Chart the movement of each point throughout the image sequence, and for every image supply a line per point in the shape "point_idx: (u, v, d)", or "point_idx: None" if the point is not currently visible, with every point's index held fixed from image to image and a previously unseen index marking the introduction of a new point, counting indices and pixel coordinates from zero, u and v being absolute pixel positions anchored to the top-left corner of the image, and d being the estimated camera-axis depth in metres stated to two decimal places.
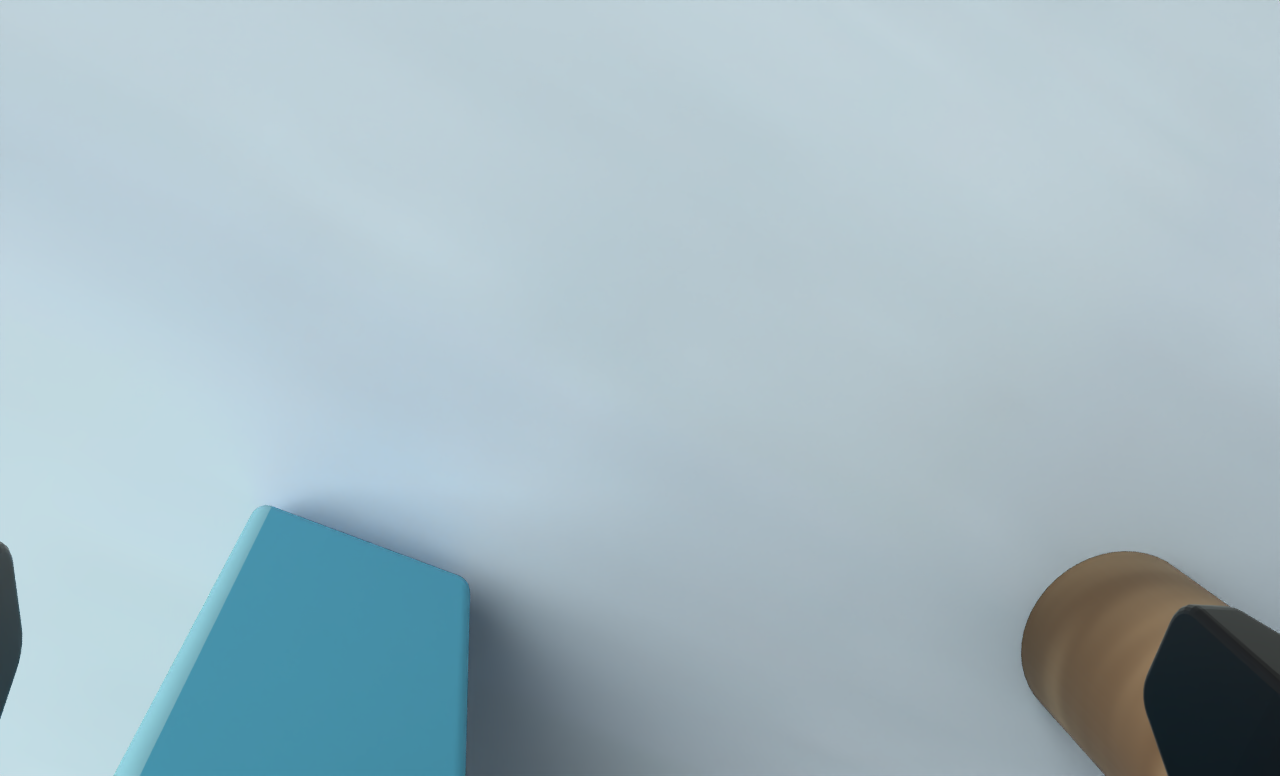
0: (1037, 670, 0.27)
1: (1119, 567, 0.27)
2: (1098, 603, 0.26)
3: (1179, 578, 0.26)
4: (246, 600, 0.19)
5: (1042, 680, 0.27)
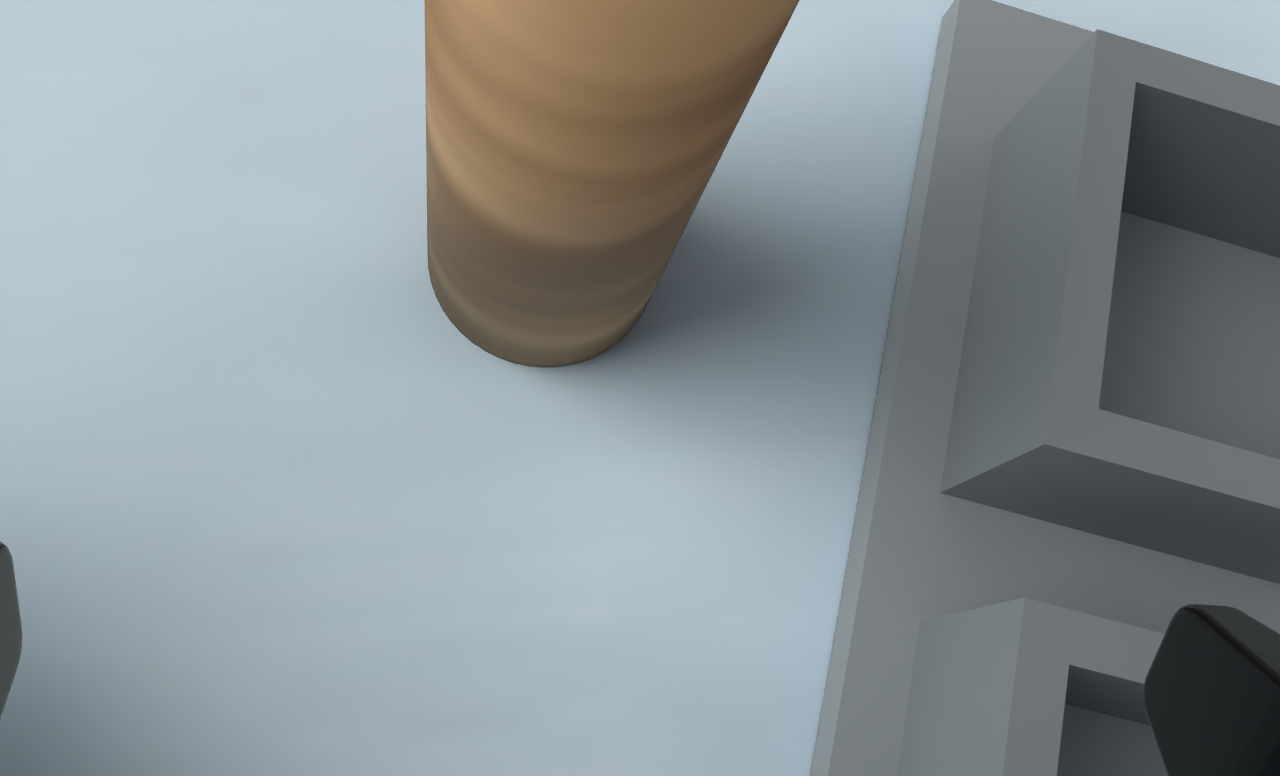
0: (452, 306, 0.22)
1: None
2: None
3: None
4: None
5: (455, 306, 0.22)
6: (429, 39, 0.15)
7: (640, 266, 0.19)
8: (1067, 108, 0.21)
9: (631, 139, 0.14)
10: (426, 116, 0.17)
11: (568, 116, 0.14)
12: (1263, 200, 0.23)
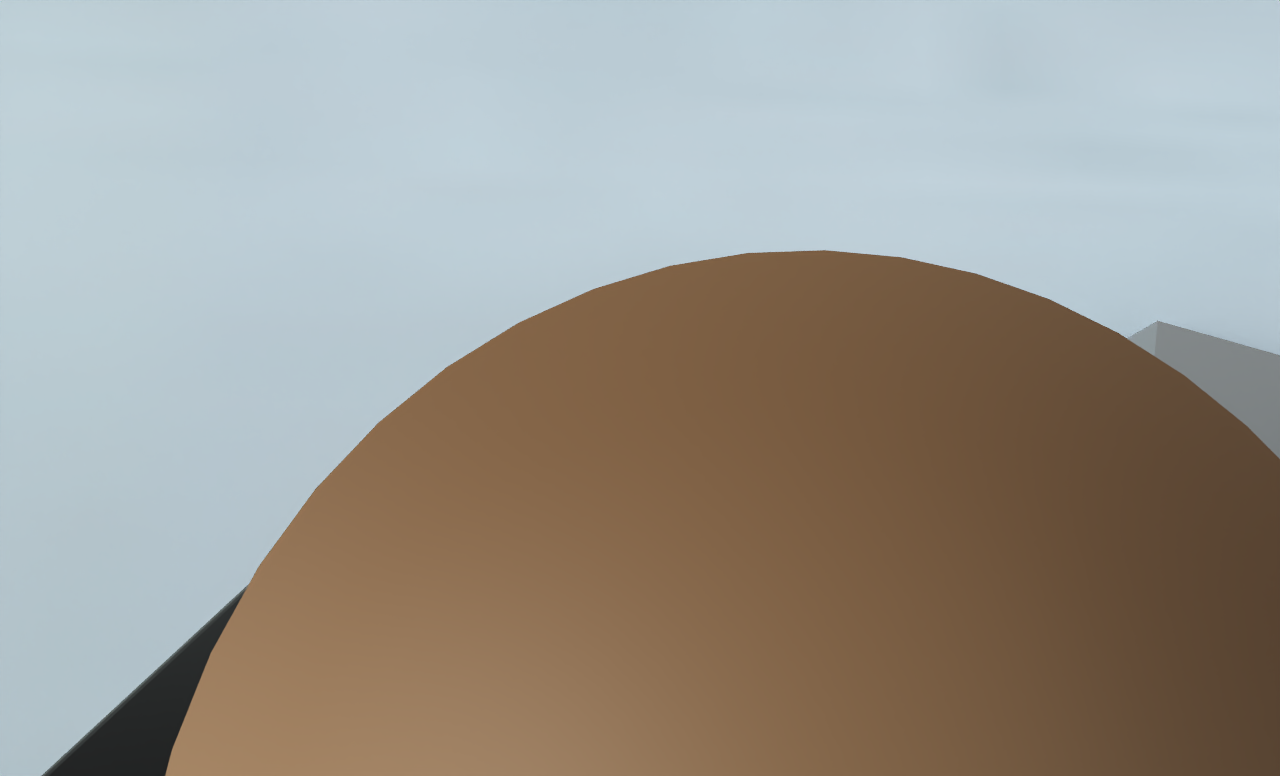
0: None
1: None
2: None
3: None
4: None
5: None
6: None
7: None
8: None
9: None
10: None
11: None
12: None
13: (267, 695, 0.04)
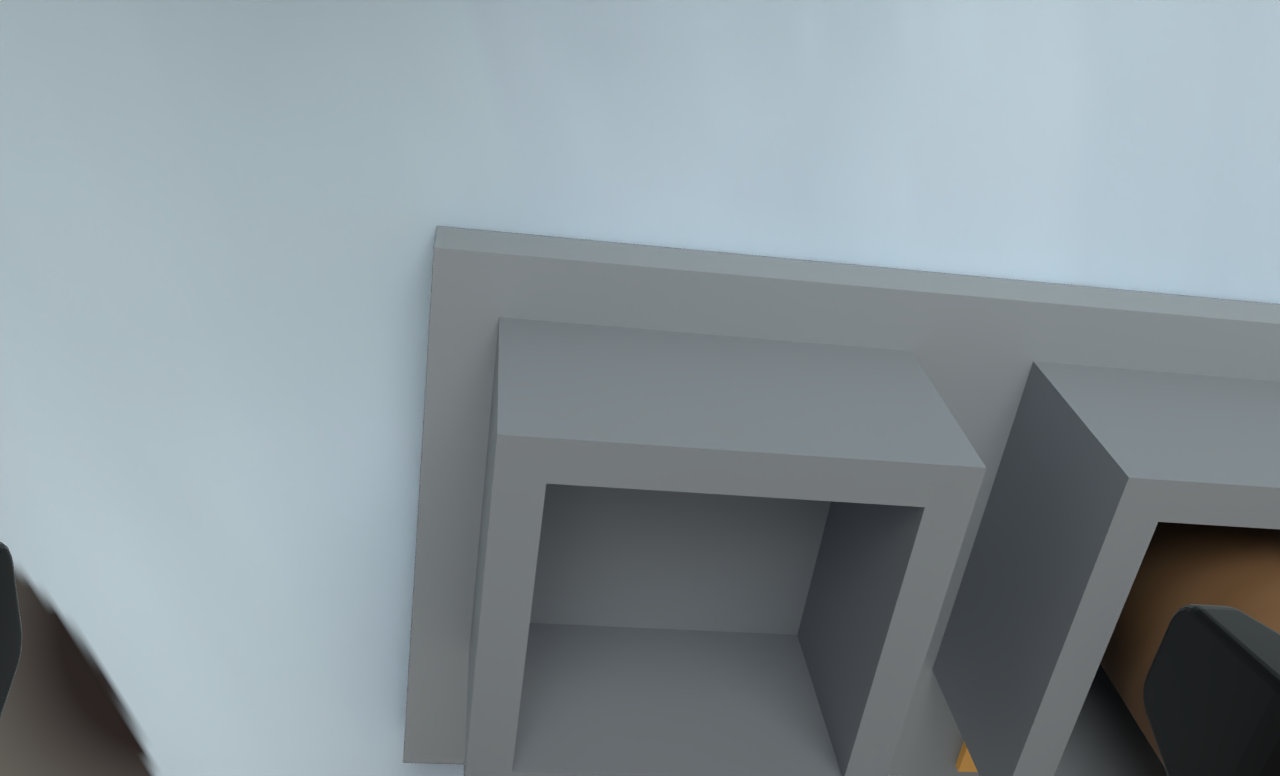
0: None
1: None
2: None
3: None
4: None
5: None
6: None
7: (1148, 728, 0.21)
8: None
9: None
10: None
11: None
12: None
13: None
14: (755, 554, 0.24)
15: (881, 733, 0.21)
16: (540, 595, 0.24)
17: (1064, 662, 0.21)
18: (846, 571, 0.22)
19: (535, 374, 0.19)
